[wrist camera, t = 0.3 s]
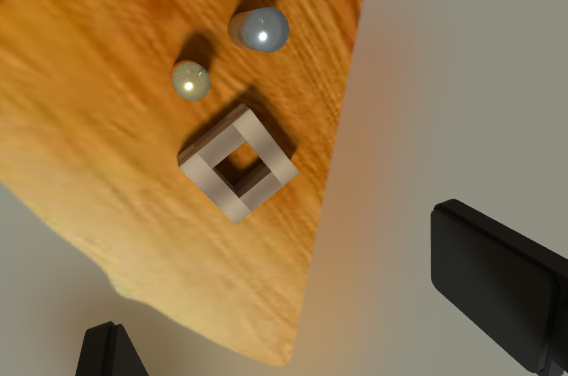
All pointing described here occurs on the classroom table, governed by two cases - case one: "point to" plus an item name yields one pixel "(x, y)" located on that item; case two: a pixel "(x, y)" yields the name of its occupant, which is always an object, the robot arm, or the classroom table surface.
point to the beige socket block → (219, 145)
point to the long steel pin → (259, 29)
